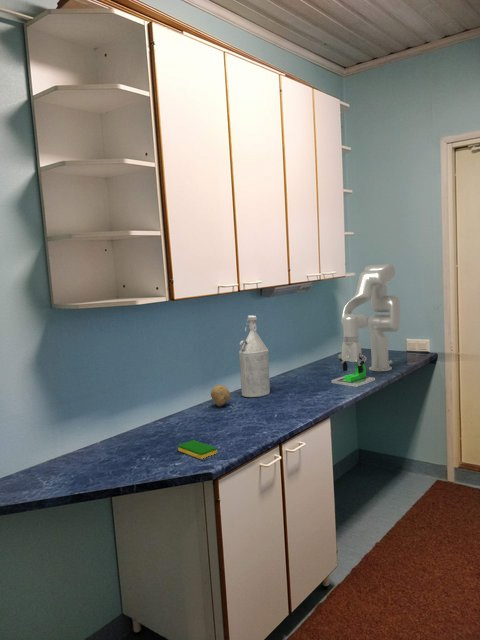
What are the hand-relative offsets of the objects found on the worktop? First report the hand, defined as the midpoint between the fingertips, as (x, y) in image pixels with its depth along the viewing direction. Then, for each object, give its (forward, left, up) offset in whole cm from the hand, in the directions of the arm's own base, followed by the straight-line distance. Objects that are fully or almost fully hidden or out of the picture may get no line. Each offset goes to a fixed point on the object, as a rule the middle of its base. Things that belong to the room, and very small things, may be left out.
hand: (352, 371), depth 266 cm
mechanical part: (0, 0, -4) cm, 4 cm away
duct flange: (0, 0, -5) cm, 5 cm away
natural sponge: (+71, -23, -5) cm, 75 cm away
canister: (+47, -25, -5) cm, 54 cm away
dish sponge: (+115, +17, -6) cm, 116 cm away
